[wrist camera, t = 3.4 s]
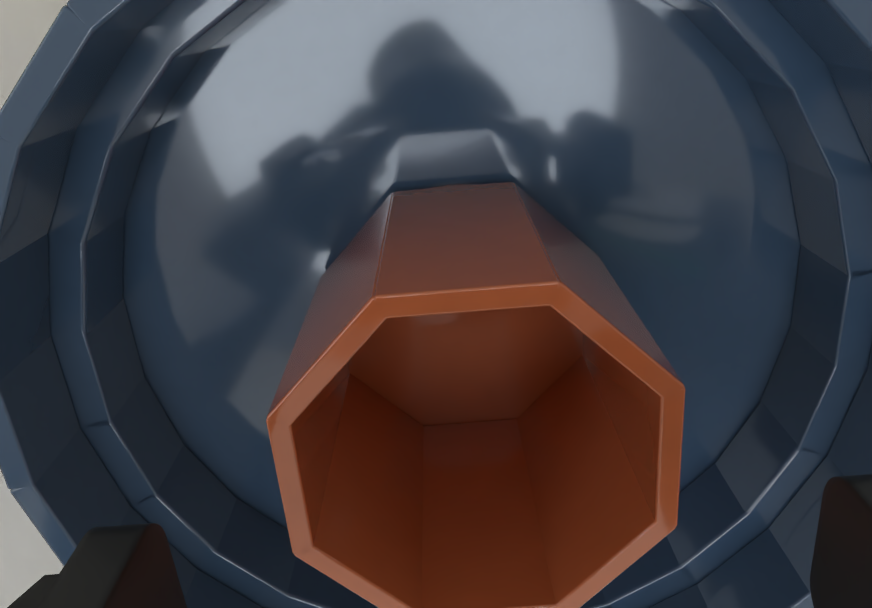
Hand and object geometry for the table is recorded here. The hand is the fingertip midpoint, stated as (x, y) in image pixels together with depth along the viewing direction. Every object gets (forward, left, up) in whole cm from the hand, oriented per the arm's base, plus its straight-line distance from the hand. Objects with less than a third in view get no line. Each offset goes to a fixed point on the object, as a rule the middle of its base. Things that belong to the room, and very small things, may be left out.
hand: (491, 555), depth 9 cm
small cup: (0, 0, -8) cm, 8 cm away
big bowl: (0, 0, -8) cm, 8 cm away
